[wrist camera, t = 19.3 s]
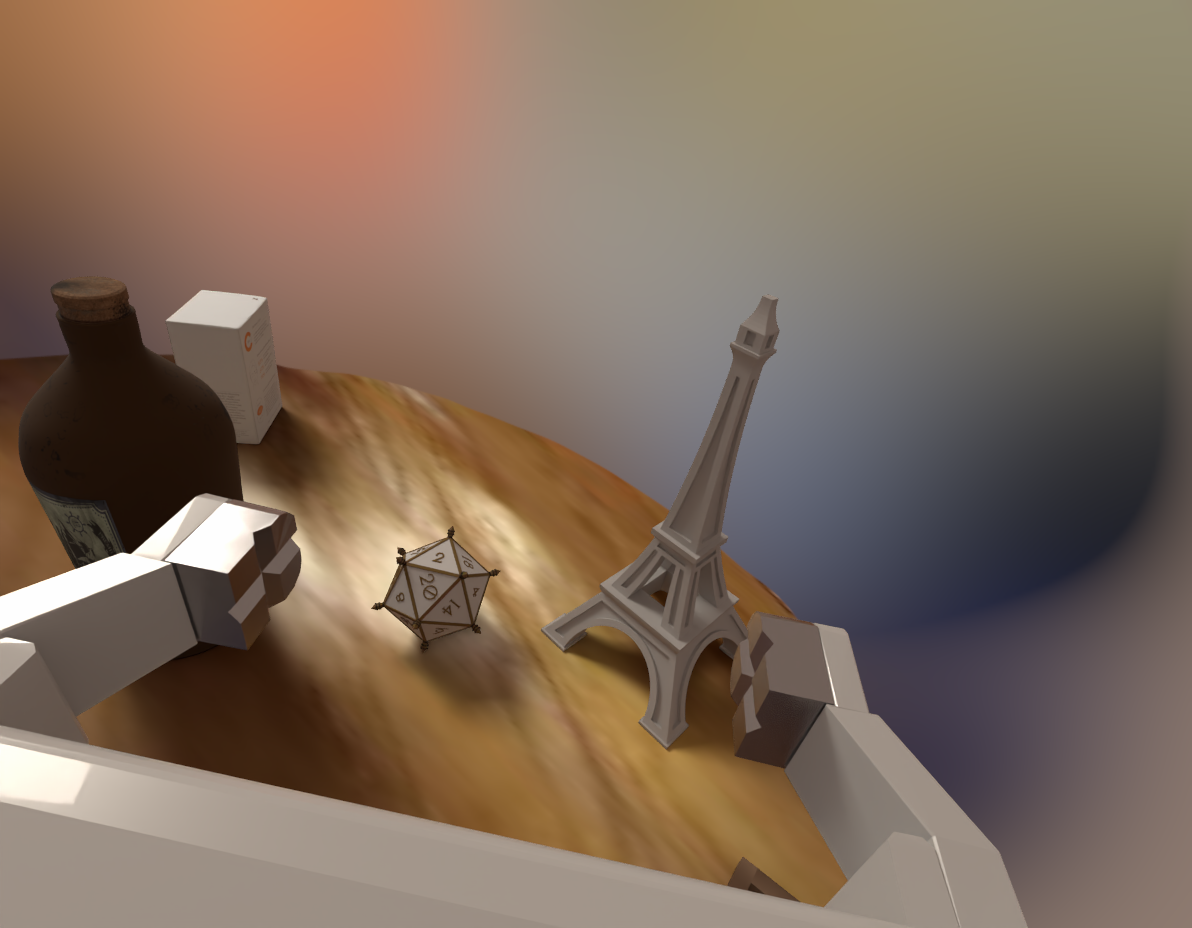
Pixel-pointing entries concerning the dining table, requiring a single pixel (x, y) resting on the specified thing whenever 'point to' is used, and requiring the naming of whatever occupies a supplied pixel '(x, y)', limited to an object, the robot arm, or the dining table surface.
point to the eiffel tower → (684, 554)
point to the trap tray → (756, 881)
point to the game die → (437, 589)
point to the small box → (231, 356)
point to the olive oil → (120, 432)
